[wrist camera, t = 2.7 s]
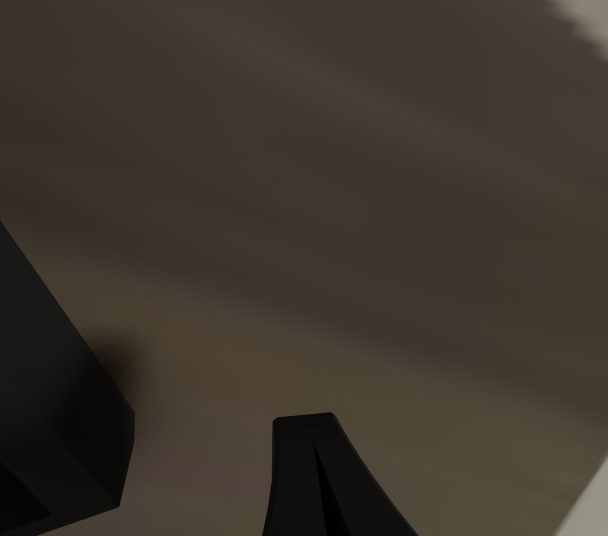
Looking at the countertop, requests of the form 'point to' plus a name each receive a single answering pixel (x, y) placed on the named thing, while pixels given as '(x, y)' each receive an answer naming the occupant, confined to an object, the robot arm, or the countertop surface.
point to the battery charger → (53, 411)
